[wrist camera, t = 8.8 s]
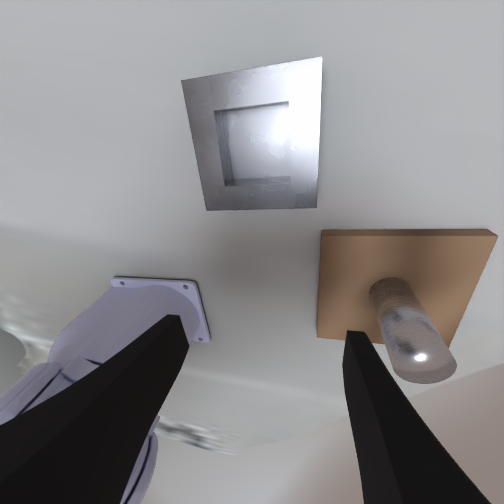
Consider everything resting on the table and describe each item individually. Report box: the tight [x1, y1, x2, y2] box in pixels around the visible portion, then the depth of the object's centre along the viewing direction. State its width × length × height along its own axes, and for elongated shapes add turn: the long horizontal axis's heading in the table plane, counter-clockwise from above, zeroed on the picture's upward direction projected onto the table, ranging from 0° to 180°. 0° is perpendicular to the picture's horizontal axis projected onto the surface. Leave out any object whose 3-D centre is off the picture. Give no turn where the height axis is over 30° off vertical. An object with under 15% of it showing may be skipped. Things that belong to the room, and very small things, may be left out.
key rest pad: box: [317, 229, 498, 348], centre depth 18 cm, size 10×10×1 cm
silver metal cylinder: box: [369, 278, 457, 384], centre depth 15 cm, size 3×3×6 cm
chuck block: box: [181, 57, 322, 211], centre depth 14 cm, size 7×7×2 cm
